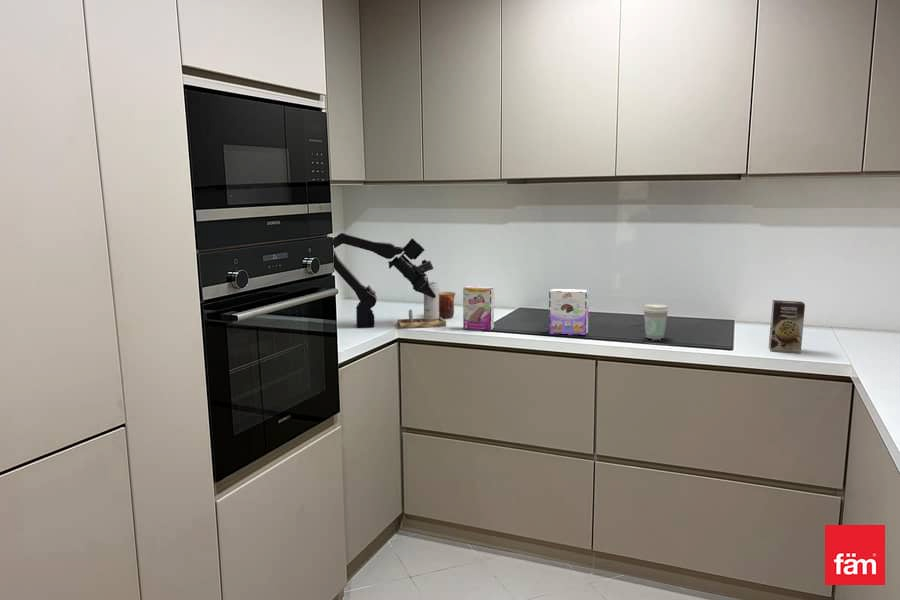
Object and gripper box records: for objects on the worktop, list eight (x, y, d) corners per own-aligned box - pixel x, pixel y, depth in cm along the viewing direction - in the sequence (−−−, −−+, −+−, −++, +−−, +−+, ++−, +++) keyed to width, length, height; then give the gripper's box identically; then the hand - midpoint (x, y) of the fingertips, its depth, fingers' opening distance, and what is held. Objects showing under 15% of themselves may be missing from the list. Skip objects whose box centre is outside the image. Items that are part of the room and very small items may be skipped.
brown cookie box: (770, 351, 215) (773, 302, 212) (768, 347, 221) (771, 299, 218) (801, 353, 211) (805, 304, 209) (798, 349, 217) (802, 300, 215)
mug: (432, 316, 281) (431, 292, 279) (451, 314, 284) (450, 291, 282) (442, 321, 270) (441, 296, 268) (461, 319, 273) (461, 295, 271)
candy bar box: (462, 329, 253) (462, 287, 250) (466, 327, 257) (466, 285, 255) (491, 331, 249) (491, 288, 247) (494, 328, 254) (494, 286, 251)
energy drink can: (421, 319, 264) (421, 282, 262) (436, 318, 266) (436, 281, 264) (426, 321, 259) (426, 283, 256) (441, 320, 261) (441, 283, 258)
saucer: (410, 324, 258) (410, 310, 257) (408, 322, 263) (408, 308, 262) (412, 324, 258) (412, 310, 257) (410, 322, 263) (410, 308, 263)
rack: (400, 328, 255) (400, 323, 255) (397, 324, 264) (397, 319, 264) (446, 326, 259) (446, 321, 259) (441, 322, 268) (441, 317, 268)
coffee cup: (639, 336, 239) (640, 303, 237) (663, 336, 238) (664, 303, 236) (645, 341, 230) (646, 307, 228) (670, 341, 230) (671, 307, 228)
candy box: (588, 333, 245) (589, 289, 242) (585, 336, 239) (587, 291, 237) (551, 331, 249) (552, 287, 247) (548, 334, 244) (548, 290, 241)
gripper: (421, 256, 249) (450, 284, 251) (420, 251, 267) (448, 278, 270) (400, 276, 249) (430, 305, 252) (401, 271, 268) (428, 297, 270)
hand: (434, 296), depth 261 cm, fingers closed on energy drink can, 6 cm apart
